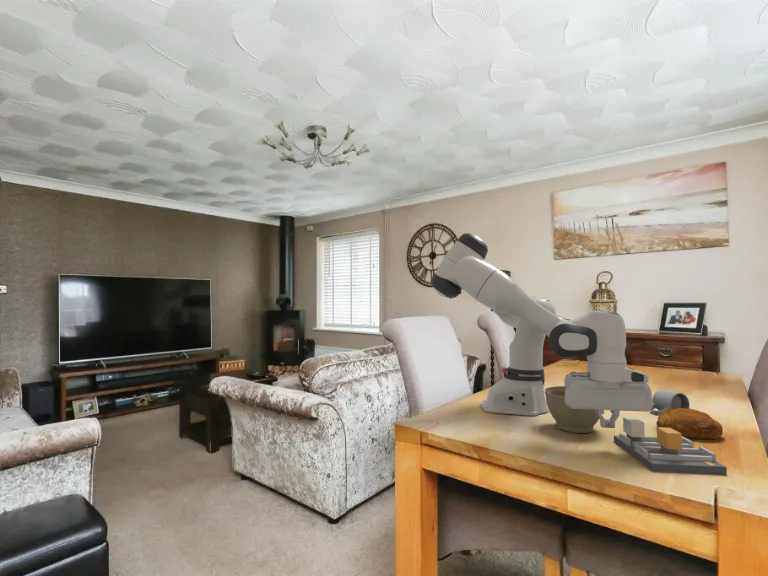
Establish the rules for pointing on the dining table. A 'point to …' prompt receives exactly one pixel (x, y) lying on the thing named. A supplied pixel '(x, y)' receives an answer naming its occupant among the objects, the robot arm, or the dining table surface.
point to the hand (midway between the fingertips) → (607, 427)
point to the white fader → (633, 428)
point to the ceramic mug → (669, 401)
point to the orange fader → (669, 440)
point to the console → (671, 456)
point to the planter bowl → (569, 412)
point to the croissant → (690, 423)
